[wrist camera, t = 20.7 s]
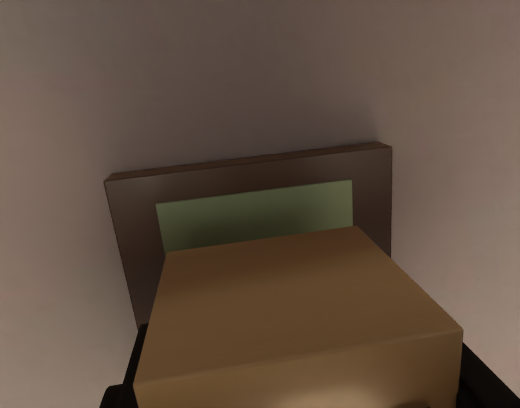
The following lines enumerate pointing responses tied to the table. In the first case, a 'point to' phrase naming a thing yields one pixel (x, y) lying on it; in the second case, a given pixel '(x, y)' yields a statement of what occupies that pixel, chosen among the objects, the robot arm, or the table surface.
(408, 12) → the table surface
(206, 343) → the tile
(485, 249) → the table surface
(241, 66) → the table surface
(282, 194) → the word board
